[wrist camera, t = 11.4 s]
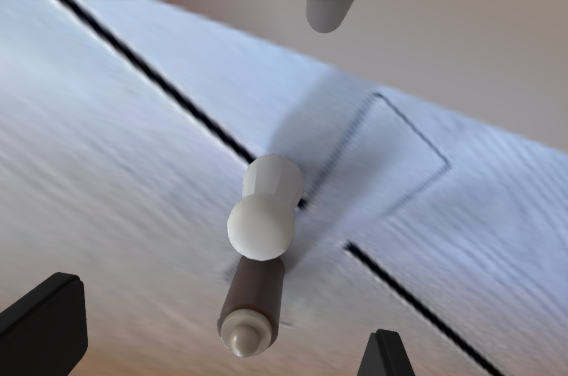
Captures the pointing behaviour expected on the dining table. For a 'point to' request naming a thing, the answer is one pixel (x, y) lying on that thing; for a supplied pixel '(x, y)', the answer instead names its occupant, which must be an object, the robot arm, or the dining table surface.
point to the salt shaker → (266, 208)
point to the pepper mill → (252, 307)
